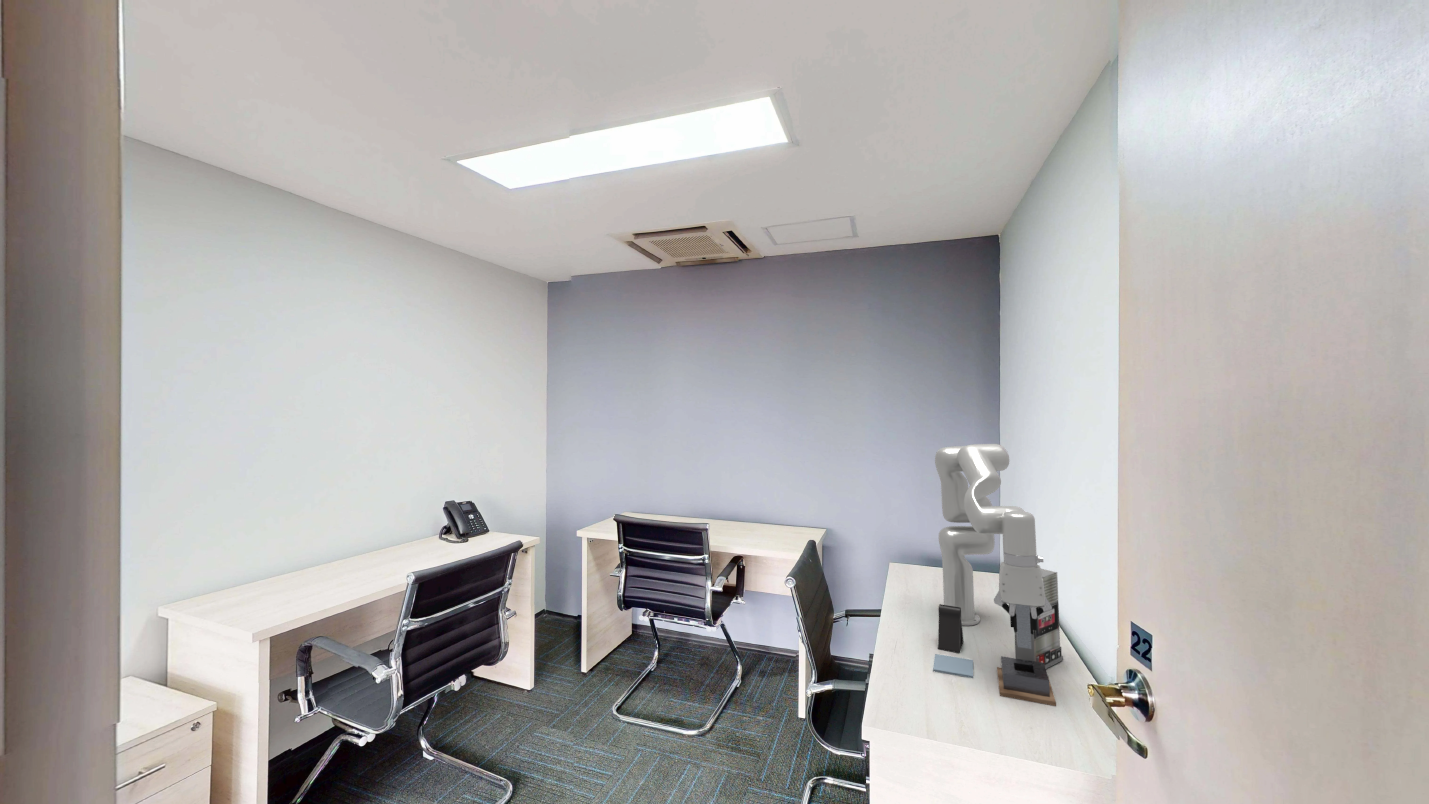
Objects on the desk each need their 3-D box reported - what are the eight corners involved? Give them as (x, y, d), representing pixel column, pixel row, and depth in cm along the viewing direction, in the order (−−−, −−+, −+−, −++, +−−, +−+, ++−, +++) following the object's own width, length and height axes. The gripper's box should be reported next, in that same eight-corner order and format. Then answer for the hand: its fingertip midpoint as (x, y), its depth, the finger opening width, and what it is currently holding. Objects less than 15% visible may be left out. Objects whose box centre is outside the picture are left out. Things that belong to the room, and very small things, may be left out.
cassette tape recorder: (1037, 674, 143) (1034, 582, 144) (1015, 665, 148) (1011, 576, 149) (1064, 661, 150) (1060, 573, 151) (1041, 653, 156) (1038, 567, 156)
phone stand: (959, 653, 157) (958, 613, 157) (937, 649, 160) (936, 609, 160) (963, 642, 164) (962, 603, 164) (943, 638, 167) (941, 600, 168)
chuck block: (1001, 670, 144) (1001, 656, 144) (1044, 678, 140) (1044, 662, 140) (1003, 688, 135) (1003, 673, 135) (1049, 697, 130) (1049, 680, 131)
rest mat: (935, 655, 156) (935, 653, 156) (972, 661, 151) (972, 659, 151) (933, 671, 147) (933, 669, 147) (973, 678, 142) (973, 676, 142)
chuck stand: (997, 670, 146) (997, 666, 146) (1048, 679, 141) (1048, 675, 141) (999, 695, 133) (999, 691, 133) (1055, 706, 128) (1055, 701, 128)
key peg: (1016, 642, 139) (1015, 600, 139) (1030, 644, 137) (1028, 601, 138) (1017, 646, 136) (1015, 603, 136) (1031, 648, 135) (1029, 605, 135)
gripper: (1054, 559, 137) (1058, 630, 137) (984, 553, 145) (987, 621, 144) (1059, 566, 131) (1063, 642, 130) (985, 560, 138) (988, 632, 137)
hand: (1023, 630), depth 137 cm, fingers closed on key peg, 3 cm apart
